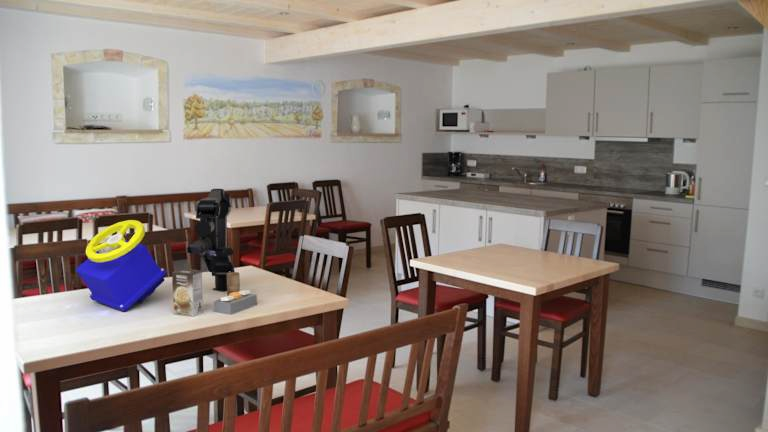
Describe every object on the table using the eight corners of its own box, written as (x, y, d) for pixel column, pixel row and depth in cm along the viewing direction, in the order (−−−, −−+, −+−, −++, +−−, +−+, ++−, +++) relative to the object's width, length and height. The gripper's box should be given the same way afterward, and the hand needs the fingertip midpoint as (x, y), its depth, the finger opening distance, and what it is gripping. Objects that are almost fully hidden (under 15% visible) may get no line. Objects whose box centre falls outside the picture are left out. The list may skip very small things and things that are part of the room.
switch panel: (214, 311, 237) (213, 301, 237) (240, 302, 250) (240, 292, 250) (230, 314, 234) (230, 304, 233) (256, 304, 247) (256, 294, 246)
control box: (148, 269, 268) (113, 214, 251) (188, 282, 253) (154, 224, 236) (100, 312, 253) (59, 256, 236) (140, 328, 238) (99, 269, 221)
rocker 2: (237, 295, 245) (236, 292, 245) (242, 293, 248) (242, 290, 248) (244, 295, 243) (244, 292, 243) (250, 293, 246) (249, 290, 246)
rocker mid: (228, 296, 241) (229, 293, 241) (234, 294, 244) (234, 291, 243) (236, 299, 239) (236, 296, 239) (241, 297, 242) (242, 294, 242)
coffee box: (172, 314, 234) (170, 271, 231) (183, 309, 240) (181, 268, 237) (193, 317, 231) (191, 273, 228) (204, 312, 237) (202, 270, 234)
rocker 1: (220, 300, 237) (220, 297, 237) (226, 298, 240) (226, 295, 239) (228, 300, 235) (227, 297, 235) (234, 298, 238) (233, 295, 238)
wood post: (224, 298, 256) (224, 274, 255) (233, 295, 260) (232, 271, 259) (234, 299, 254) (233, 275, 252) (242, 297, 258) (242, 272, 257)
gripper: (175, 233, 241) (177, 273, 243) (213, 237, 232) (214, 278, 234) (196, 229, 251) (198, 268, 253) (233, 232, 242) (234, 272, 244)
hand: (210, 271), depth 246 cm, fingers closed
